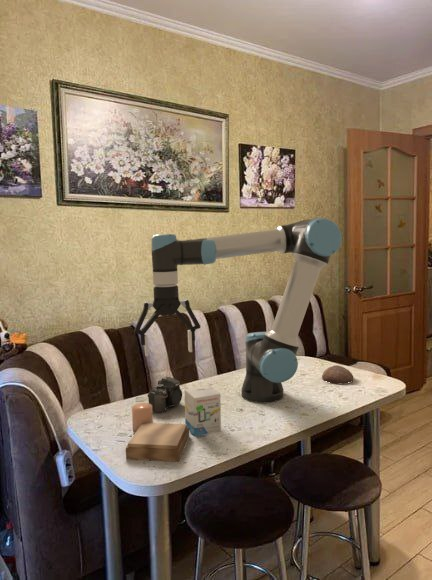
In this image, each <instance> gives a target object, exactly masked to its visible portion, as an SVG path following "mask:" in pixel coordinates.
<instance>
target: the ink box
mask: <svg viewBox="0 0 432 580" xmlns="http://www.w3.org/2000/svg"><path fill="white" fill-rule="evenodd" d="M221 407H222V406H221V393H220V392H219V391H218V390H216V389H215V388H214V387H212V386H211V385H204V386H200V387H193V388H192V387H191V388H186V389H184V415H185V416H184V420H185V421H184V422H185V423H184V424H187V427H189V433H191V434H192V435H193V437H199V436H203V435H208V434H213V433H219V432H221V431H222V422H221V421H222V420H221V419H222V416H221Z"/></svg>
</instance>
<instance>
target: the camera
mask: <svg viewBox="0 0 432 580" xmlns="http://www.w3.org/2000/svg"><path fill="white" fill-rule="evenodd" d="M180 385H181V381H179V380H178V379H176V378H174V377H171V376H167V375H165V376H164V377H162V378H161V379H160V380H158V381H157V385H156V386H155V387H154V388H152V389H150V390H149V392H148V393H147V397H148V398H147V399H148V400H147V401H148V403H149V404H151V405H152V413H155V414H165V413H166V411H167V409H169V408H170V407H173V406H178V405H179V404H180V403H181V401H182V399H183V391H182V389H181V387H180Z"/></svg>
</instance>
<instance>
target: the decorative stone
mask: <svg viewBox="0 0 432 580" xmlns="http://www.w3.org/2000/svg"><path fill="white" fill-rule="evenodd" d="M321 378H322V381H324V382H325V381H327V382H326V383H328V382H330V383H329V384H334V383H348V382H351V381H352V382H353V381H354V375H353V373H352V372H351V371H350V370H349V369H347V368H346V367H344V366H342V365H336V364H335V365H331V366H329V367H327V368H326V369H325V370H324V371H323V373H322V375H321ZM352 382H351V383H352Z"/></svg>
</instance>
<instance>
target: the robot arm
mask: <svg viewBox="0 0 432 580" xmlns="http://www.w3.org/2000/svg"><path fill="white" fill-rule="evenodd" d="M176 235H177V234H174V233H171V234H168V233H167V234H153V236H152V237H151V263H152V267H151V268H152V284H153V285H154V287H153V301H152V302H148V301H144V302H143V309H142V310H141V311H142V312H141V314H140V316H139V318H138V320H137V322H136V325H135V327H134V330H133V331H134V334H135V335H140V344H141V346H144V355H145V357H149V344H148V343H149V341H148V334H147V332H148V331H149V329H150V328H151V327H152V325H153V324H154V322H156V320H157V319H158V318H159V316H162V317H166V316H168V317H169V316H173V315H176V316H177V317H178V318H179V319H180V321H182V322H183V323H184V324H185V325H186V326H187V328H188V330H187V348H188V352H189V353H193V342H194V341H195V340H196V334H195V333H196V330H198V329H201V324H200V323H199V321H198V319H197V318H196V315H195V314H194V311H193V310H192V308H191V305H190V301H189V300H188V299H187V298H186V299H183V300H180V298H179V295H180V294H179V286H178V285H177V284H179V277H178V275H179V273H178V266H183V265H184V266H186V265H188V266H189V265H191V266H192V265H204V266H205V265H210V264H212V265H214V263H215V262H216V260H220V259H226V258H227V259H228V258H236V257H242V256H243V257H244V256H252V255H257V254H258V255H259V254H267V253H275V252H279V253H280V254H289V253H290V254H291V253H292V256H293V259H294V262H293V263H294V264H293V265H292V269H291V272H290V274H289V278H288V280H287V284H286V287H285V290H284V292H283V294H282V297H281V301H280V303H279V306H278V309H277V312H276V316H275V318H274V321H273V324H272V325H271V326H272V327H271V330H269V331H256V332H249V333H247V334H246V336H245V341H244V342H245V377H244V381H243V383H242V387H241V389H240V390H241V397H242V398H243V399H245V400H246V401H248V402H253V403H263V404H264V403H265V404H266V403H275V402H278V401H281V400H282V399H283V398H284V395H285V393H284V392H285V391H284V386H283V383H285V382H287V381H289V380H290V379H292V378H293V377H294V375H295V374H296V373H297V370H298V367H299V362H298V357H297V353H298V350H299V347H300V344H299V342H298V340H297V339H298V336H299V333H300V330H301V326H302V324H303V321H304V318H305V315H306V312H307V309H308V307H309V304H310V302H311V298H312V295H313V293H314V291H315V286H316V284H317V281H318V278H319V275H320V273H321V270H322V269H323V268H325V267H326V266H328V264H329V263H330V262H329V261H330V259H331V256H332V255H334V254H335V253H337V252H338V251H339V249H340V247H341V245H342V240H343V237H342V232H341V229H340V227H339V226H338V224H337V222H334V221H333V220H332V219H328V218H323V217H316V218H311V219H310V218H309V219H304V220H299V221H297V222H293V223H288V224H282V225H278V226H277V227H276V228H274V229H269V230H260V231H253V232H252V231H251V232H243V233H235V234H226V235H219V236H218V235H217V236H211V237H205V238H196V239H186V240H185V239H184V240H179V239H178V238H177V236H176ZM180 306H182V307H184V308H185V310H186V312H187V313H188V315H189V317H190V319H191V320H192V322H193V325H192V323H190V321H189V320H187V318H186V317H185V316H184V315H183V314H182V313H181V312H180V311H179V309H180ZM152 307H153V308H154V310H155V311H154V312H153V313H152V315H151V316H150V318H149V319H148V320H147V322H146V323H145V324H144V325H143V323H144V321H145V319H146V317H147V314H148V312H149V310H151V308H152ZM142 325H143V327H142Z"/></svg>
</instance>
